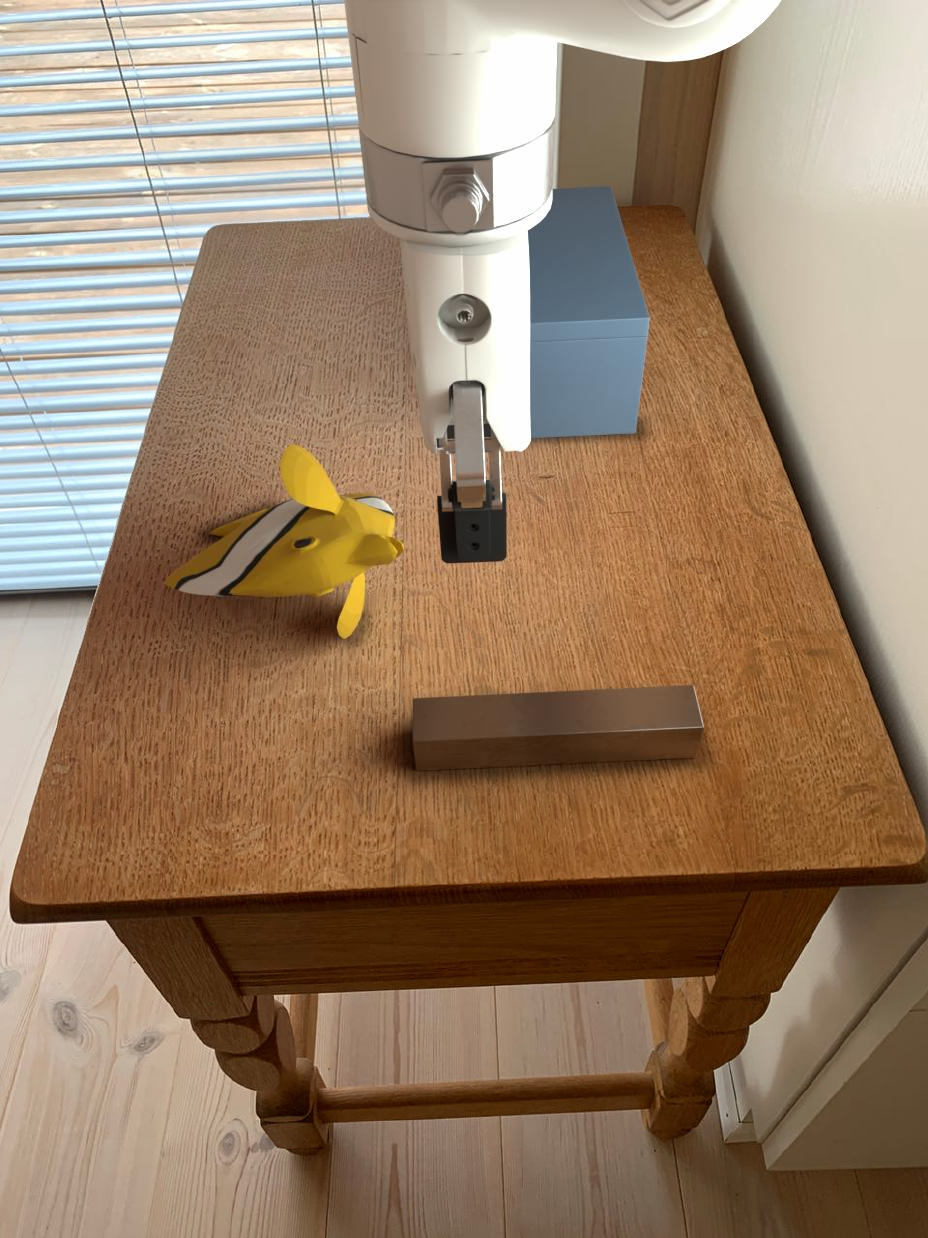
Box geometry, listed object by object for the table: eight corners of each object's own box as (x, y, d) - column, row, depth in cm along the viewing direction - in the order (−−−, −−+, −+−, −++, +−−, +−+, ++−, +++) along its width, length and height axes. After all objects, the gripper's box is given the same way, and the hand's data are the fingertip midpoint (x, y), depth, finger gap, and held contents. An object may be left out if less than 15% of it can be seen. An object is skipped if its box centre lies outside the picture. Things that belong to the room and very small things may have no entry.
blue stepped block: (602, 295, 89) (613, 154, 79) (635, 433, 76) (654, 284, 66) (491, 300, 89) (490, 160, 79) (505, 439, 76) (505, 291, 66)
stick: (687, 715, 58) (694, 684, 56) (696, 758, 56) (704, 727, 54) (416, 728, 58) (412, 697, 56) (416, 771, 56) (412, 741, 54)
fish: (427, 419, 54) (171, 524, 49) (486, 617, 59) (259, 732, 54) (305, 400, 71) (103, 477, 65) (359, 556, 76) (176, 639, 70)
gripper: (574, 274, 33) (556, 612, 46) (537, 76, 45) (531, 391, 57) (351, 284, 33) (396, 619, 46) (372, 84, 45) (403, 397, 58)
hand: (471, 492), depth 52 cm, fingers open, 9 cm apart
